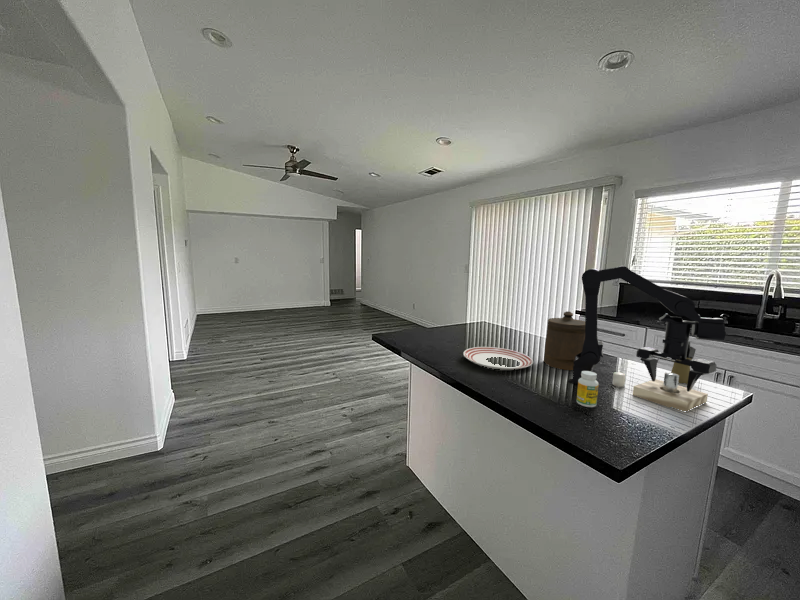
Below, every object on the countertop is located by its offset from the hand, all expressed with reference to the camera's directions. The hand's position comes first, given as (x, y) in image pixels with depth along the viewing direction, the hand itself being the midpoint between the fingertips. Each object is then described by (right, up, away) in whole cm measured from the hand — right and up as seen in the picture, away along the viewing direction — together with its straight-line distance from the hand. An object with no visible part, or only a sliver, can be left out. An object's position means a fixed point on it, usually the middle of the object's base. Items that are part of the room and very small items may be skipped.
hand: (670, 386), depth 106 cm
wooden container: (-18, 0, +33) cm, 37 cm away
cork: (+17, -3, +17) cm, 24 cm away
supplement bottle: (-29, -5, -4) cm, 29 cm away
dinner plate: (-45, +1, +34) cm, 56 cm away
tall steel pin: (0, -4, +1) cm, 4 cm away
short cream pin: (-9, -3, +12) cm, 15 cm away
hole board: (0, -4, +1) cm, 4 cm away
